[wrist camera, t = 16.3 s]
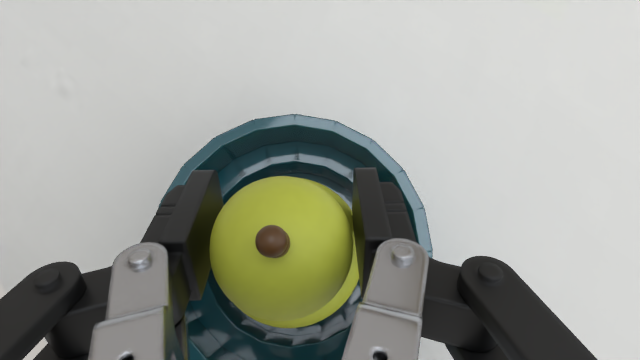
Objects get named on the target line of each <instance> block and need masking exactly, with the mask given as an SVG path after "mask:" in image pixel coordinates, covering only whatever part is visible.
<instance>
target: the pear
mask: <svg viewBox="0 0 640 360" xmlns="http://www.w3.org/2000/svg"><path fill="white" fill-rule="evenodd" d="M209 252H210V262H211V267H212V271H213V274H214V277H215V279H216V281H217V283H218V285H219V287H220V288H221V290H222V291H223V293H224V294H225V295H226V296H227V297H228V298H229V300H230V301H231V302H233V303H234V304H235V305H236V306H237V307H238V308H239V309H240V310H241V311H242V312H243V313H245V314H246V315H248V316H249V317H251V318H252V319H254V320H256V321H258V322H260V323H263V324H266V325H269V326H272V327H279V328H298V327H304V326H308V325H312V324H314V323H317V322H319V321H322V320H323V319H325V318H327V317H328V316H330V315H332V314H333V313H334V312H335V311H337V310H338V309H339V308H340V307H341V306H342V305H343V304H344V303H345V302H346V301H347V299H348V298H349V297H350V295H351V294H352V292H353V290H354V289H355V287H356V285H357V282H358V280H359V272H358V264H357V255H356V247H355V238H354V229H353V218H352V210H351V209H350V207H349V206H348V205H347V203H346V202H345V201H344V200H343V199H342V198H341V197H340V196H339V195H338V194H336V193H335V192H334V191H332V190H331V189H329V188H328V187H326V186H324V185H322V184H320V183H317V182H315V181H312V180H308V179H303V178H297V177H290V176H275V177H268V178H264V179H260V180H258V181H255V182H252V183H250V184H249V185H247V186H245V187H243V188H242V189H241V190H239V191H238V192H236V193H235V194H234V195H233V196H232V197H231V198H230V199H229V200H228V201H227V203H226V204H225V205H224V206H223V208H222V209H221V211H220V212H219V214H218V216H217V218H216V220H215V223H214V226H213V229H212V232H211V237H210V247H209Z"/></svg>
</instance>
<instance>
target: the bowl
mask: <svg viewBox="0 0 640 360" xmlns="http://www.w3.org/2000/svg"><path fill="white" fill-rule="evenodd" d="M354 168H376V169H377V173H378V178H379V182H392V183H393V184H394V185H395V186H396V187H397V188H399V189H400V190H401V193H402V196H403V199H404V203H405V206H406V209H407V212H408V215H409V219H410V222H411V225H412V228H413V232H414V235H415V238H416V242H417V243H418V244H419V245H421V246H422V247H423V248H424V249H425V250H426V252H427V254H428V256H429V257H430V258H432V254H433V253H432V251H433V249H432V244H431V239H430V234H429V228H428V223H427V218H426V213H425V208H424V206H423V204H422V202H421V200H420V198H419V197H418V195H417V193H416V191H415V189H414V187H413V186H412V184H411V182H410V180H409V178H408V176H407V174H406V173H405V171H404V170H403V168H402V167H401V166H400V165H399V164H398V163H397V162H396V161H395V160H394V159H393V158H392V157H391V156H390V155H389V154H388V153H386V152H385V151H384V150H383V149H382V148H381V147H380V146H379V145H378V144H377V143H376V142H375V141H374V140H372V139H371V138H369V137H367V136H365V135H363V134H361V133H359V132H357V131H355V130H353V129H351V128H349V127H347V126H345V125H343V124H341V123H339V122H337V121H336V122H335V121H334V120H328V119H322V118H316V117H310V116H304V115H298V114H291V115H283V116H276V117H268V118H260V119H254V120H251V121H249V122H247V123H245V124H242V125H240V126H238V127H236V128H234V129H231V130H229V131H227V132H225V133H223V134H220V135H218V136H216V138H213V139H212V140H211V141H210V142H209V143H208V144H207V145H205V146H204V147H203V148H202V149H201V150H200V151H199V152H197V153H196V154H195V155H194V156H193V157H192V158H191V159H190V160H188V161H187V162H186V163H185V164H184V166H182V168H181V169H180V171H179V172H178V174H177V176H176V177H175V179H174V181H173V182H172V184H171V185H170V187H169V189H168V190H167V192H166V194H167V193H168V192H170V191H171V190H172V189H173V188H174V187H176V186H177V185H186V183H187V181H188V178H189V176H190V174H191V172H192V171H193V170H216V171H217V173H218V177H219V182H220V188H221V193H222V199H223V204H224V205H225V204H226V203H227V201H228V200H229V199H230V198H231V197H232V196H233V195H234V194H235V193H236V192H238V191H239V190H241V189H242V188H243V187H245V186H247V185H249V184H250V183H252V182H255V181H258V180H260V179H264V178H268V177H275V176H290V177H297V178H303V179H308V180H312V181H315V182H317V183H320V184H322V185H324V186H326V187H328V188H329V189H331V190H332V191H334V192H335V193H336V194H338V195H339V196H340V197H341V198H342V199H343V200H344V201H345V202H346V203H347V205H348V206H349V207H350V209H351V210H352V196H353V172H354ZM166 194H165V195H166ZM165 195H164V197H165ZM164 197H163V198H162V200H161V203H162V201H163V199H164ZM161 203H160V204H159V207H161ZM158 209H159V208H158ZM362 301H363V298H362V297H361V289H360V281H359V280H358V282H357V285H356V287H355V289H354V290H353V292H352V294H351V295H350V297H349V298H348V299H347V301H346V302H345V303H344V304H343V305H342V306H341V307H340V308H339V309H338V310H337V311H335V312H334V313H333V314H332V315H330V316H328V317H327V318H325V319H323V320H322V321H319V322H317V323H314V324H312V325H308V326H304V327H298V328H279V327H272V326H269V325H266V324H263V323H260V322H258V321H256V320H254V319H252V318H251V317H249V316H248V315H246V314H245V313H243V312H242V311H241V310H240V309H239V308H238V307H237V306H236V305H235V304H234V303H233V302H231V301H230V300H229V298H228V297H227V296H226V295H225V294H224V293H223V291H222V290H221V288H220V287H219V285H218V283H217V281H216V279H215V277H214V274H213V271H212V267H211V269H210V272H209V276H208V279H207V282H206V286H205V289H204V293H203V296H202V299H201V300H195V301H188V305H187V308H186V311H185V312H186V315H187V323H188V337H189V351H190V360H342V356H343V353H344V350H345V346H346V343H347V339H348V336H349V332H350V329H351V326H352V322H353V319H354V315H355V312H356V309H357V306H358V304H359V302H362Z"/></svg>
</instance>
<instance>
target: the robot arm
mask: <svg viewBox="0 0 640 360" xmlns="http://www.w3.org/2000/svg"><path fill="white" fill-rule="evenodd" d="M223 206H224V204H223V199H222V193H221V188H220V182H219V177H218V173H217V171H216V170H193V171H192V172H191V174H190V176H189V178H188V181H187V183H186V185H177V186H176V187H174V188H173V189H172V190H171V191H170V192H168V193H167V194H166V195H165V197H164V199H163V201H162V203H161V207H159V209H158V210H157V212H156V216H154V218H153V220H152V222H151V224H150V226H149V227H148V229H147V231H146V233H145V235H144V237H143V239H142V241H141V242H140V244H136V245H134V246H131V247H129V248H127V249H126V250H124V251H123V252H121V253H120V254H119V255H118V256H117V257H116V259H115V260H114V262H113V265H112V266H111V267H108V268H104V269H100V270H96V271H92V272H88V273H84V274H81V272H80V270H79V268H78V267H77V266H76V265H75V264H73V263H71V262H56V263H51V264H48V265H45V266H43V267H41V268H39V269H37V270H35V271H34V272H32V273H31V274H29V275H28V276H27V277H26V278H24V279H23V280H22V281H21V282H20V283H19V284H18V285H16V286H15V287H14V288H13V289H12V290H11V291H9V292H8V293H7V294H6V295H5V296H4V297H2V298H1V299H0V360H22V359H23V358H24V357H25V356H26V355H27V354H28V353H29V352H30V351H31V350H32V349H33V348H34V347H35V345H37V344H38V343H39V342H40V341H41V340H42V338H43V337H45V339H46V340H47V342H48V344H47V345H46V346H45V347H44V348H43V350H41V352H40V353H39V354H38V355H37V356H36V357H35V358H34V359H33V360H190V351H189V337H188V323H187V315H186V312H185V311H186V308H187V305H188V301H195V300H201V299H202V296H203V293H204V289H205V286H206V282H207V279H208V276H209V272H210V269H211V262H210V252H209V247H210V237H211V232H212V229H213V226H214V223H215V220H216V218H217V216H218V214H219V212H220V211H221V209H222V208H223ZM352 218H353V229H354V238H355V247H356V255H357V264H358V272H359V281H360V289H361V297H362V298H363V301H362V302H359V304H358V306H357V309H356V312H355V315H354V319H353V322H352V326H351V329H350V332H349V336H348V339H347V343H346V346H345V350H344V353H343V356H342V360H418V354H419V346H420V338H421V337H424V338H427V339H431V340H434V341H438V342H442V343H445V345H446V347H447V349H448V350H449V352H450V354H451V355H452V357H453V359H454V360H597V359H596V358H595V357H594V356H593V354H592V353H591V352H590V351H589V350H588V349H587V348H586V347H585V346H584V345H583V344H582V343H581V342H580V341H579V340H578V338H577V337H576V336H575V335H574V334H573V333H572V332H571V331H570V330H569V329H568V328H567V327H566V326H565V325H564V324H563V322H562V321H561V320H560V319H559V318H558V317H557V316H556V315H555V314H554V313H553V312H552V311H551V310H550V309H549V308H548V307H547V305H546V304H545V303H544V302H543V301H542V300H541V299H540V298H539V297H538V296H537V295H536V294H535V293H534V292H533V291H532V289H531V288H530V287H529V286H528V285H527V284H526V283H525V282H524V281H523V280H522V279H521V278H520V277H519V276H518V275H517V274H516V272H515V271H514V270H513V269H512V268H511V267H509V266H508V265H507V264H505V263H504V262H502V261H500V260H498V259H495V258H492V257H487V256H475V257H471V258H469V259H467V260H466V261H464V262H463V264H462V266H461V267H459V266H455V265H451V264H446V263H442V262H439V261H436V260H434V259H432V258H430V257H429V256H428V254H427V252H426V250H425V249H424V248H423V247H422V246H421V245H419V244H418V243H417V242H416V238H415V235H414V232H413V228H412V225H411V222H410V219H409V215H408V212H407V209H406V206H405V203H404V199H403V196H402V193H401V190H400V189H399V188H397V187H396V186H395V185H394V184H393V183H392V182H379V178H378V173H377V169H376V168H354V172H353V196H352Z"/></svg>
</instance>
